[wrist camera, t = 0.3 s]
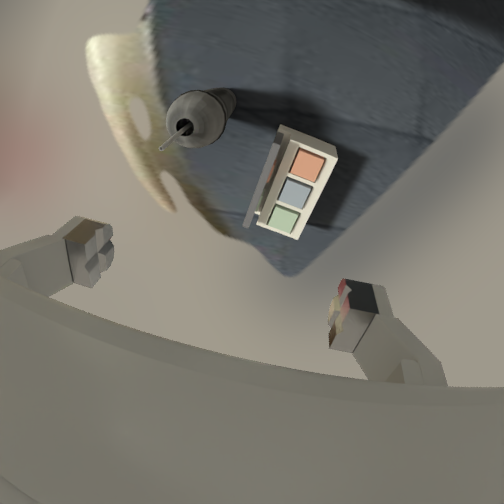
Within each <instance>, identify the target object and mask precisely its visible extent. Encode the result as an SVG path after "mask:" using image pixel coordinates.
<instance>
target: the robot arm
mask: <svg viewBox="0 0 504 504" xmlns="http://www.w3.org/2000/svg"><path fill="white" fill-rule="evenodd" d="M112 236H113V230H112V226H111V225H110V224H107V223H104V222H100V221H96V220H92V219H88V218H85V217H80V216H75V217H74V218H72V219H71V220H70V221H69V222H67V223H66V224H65V225H64V226H63V227H61V228H60V229H59V230H57V231H56V232H55V233H54V234H53V235H46V236H42V237H39V238H36V239H33V240H30V241H27V242H24V243H20V244H17V245H15V246H11V247H8V248H5V249H3V250H0V504H504V387H448V385H447V381H446V378H445V374H444V371H443V368H442V365H441V362H440V361H439V360H438V359H437V358H436V357H435V356H434V355H433V354H432V352H430V350H429V349H428V348H427V347H426V346H425V345H424V344H423V343H422V342H421V341H420V340H419V339H418V338H417V337H416V336H415V335H414V334H413V333H412V332H411V331H410V330H409V329H408V328H407V327H406V326H405V325H404V324H403V323H402V322H401V321H400V320H399V319H398V318H394V316H393V312H392V309H391V305H390V302H389V299H388V296H387V293H386V289H385V287H383V286H380V285H374V284H369V283H364V282H358V281H354V280H349V279H344V278H343V279H342V280H341V282H340V284H339V286H338V295H337V296H335V297H334V298H333V300H332V302H331V305H330V309H329V313H328V325H329V326H330V327H331V330H330V332H329V348H330V349H334V350H339V351H345V352H350V353H353V356H354V357H355V359H356V361H357V362H358V364H359V365H360V367H361V369H362V370H363V372H364V373H365V375H366V376H367V378H368V380H363V379H355V378H348V377H340V376H333V375H326V374H320V373H314V372H308V371H302V370H297V369H291V368H286V367H281V366H276V365H271V364H266V363H261V362H257V361H252V360H247V359H243V358H239V357H234V356H230V355H226V354H222V353H218V352H213V351H210V350H206V349H202V348H198V347H195V346H191V345H187V344H183V343H180V342H176V341H173V340H169V339H166V338H162V337H159V336H156V335H152V334H149V333H146V332H142V331H140V330H136V329H133V328H130V327H127V326H124V325H121V324H118V323H115V322H112V321H110V320H107V319H104V318H101V317H98V316H96V315H93V314H90V313H87V312H85V311H82V310H79V309H77V308H74V307H72V306H69V305H67V304H64V303H62V302H59V301H57V300H54V299H52V298H49V296H51V295H53V294H55V293H57V292H58V291H60V290H62V289H64V288H66V287H68V286H69V285H71V284H73V283H76V284H79V285H82V286H86V287H89V288H92V287H93V286H94V285H95V284H96V282H97V281H98V280H99V279H100V278H101V275H100V273H101V272H103V271H105V270H107V269H108V268H109V267H110V266H111V263H112V261H113V258H114V245H113V244H112V242H111V241H110V239H111V237H112Z"/></svg>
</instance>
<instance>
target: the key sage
mask: <svg viewBox="0 0 504 504" xmlns="http://www.w3.org/2000/svg"><path fill="white" fill-rule="evenodd" d="M298 214H299V212H297V211H295V210H292V209H290V208H287V207H284V206H282V205H279V204H276V205H275V207H274V210H273V212H272V214H271V217H270V219H269V223H268V226H271V227H273V228H276V229H279V230H281V231H284V232H287V233H289V234H290V232H291V230H292V228H293V225H294V223H295V221H296V219H297V217H298Z"/></svg>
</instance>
